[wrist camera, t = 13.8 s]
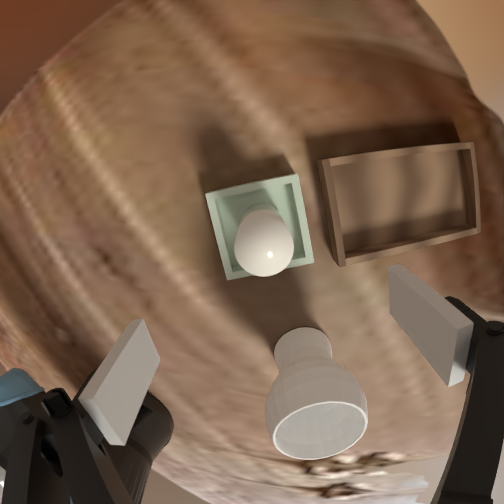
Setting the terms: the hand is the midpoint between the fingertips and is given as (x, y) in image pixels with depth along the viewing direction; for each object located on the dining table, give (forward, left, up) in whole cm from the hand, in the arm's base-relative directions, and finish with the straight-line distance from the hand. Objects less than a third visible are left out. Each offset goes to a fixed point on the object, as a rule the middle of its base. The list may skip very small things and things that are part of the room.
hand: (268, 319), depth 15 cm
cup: (+2, -17, -21) cm, 27 cm away
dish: (0, +1, -21) cm, 21 cm away
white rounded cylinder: (0, +1, -20) cm, 20 cm away
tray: (+18, +1, -21) cm, 27 cm away
